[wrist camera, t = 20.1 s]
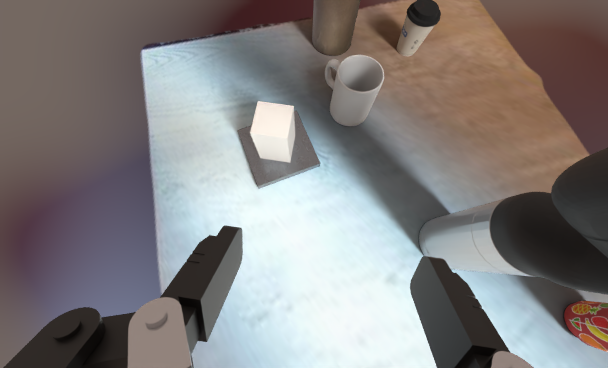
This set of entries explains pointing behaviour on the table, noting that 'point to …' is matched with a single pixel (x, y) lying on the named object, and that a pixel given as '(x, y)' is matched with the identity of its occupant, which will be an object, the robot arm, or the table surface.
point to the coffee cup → (417, 25)
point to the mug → (353, 88)
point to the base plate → (279, 170)
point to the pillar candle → (334, 25)
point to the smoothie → (589, 323)
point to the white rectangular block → (274, 131)
